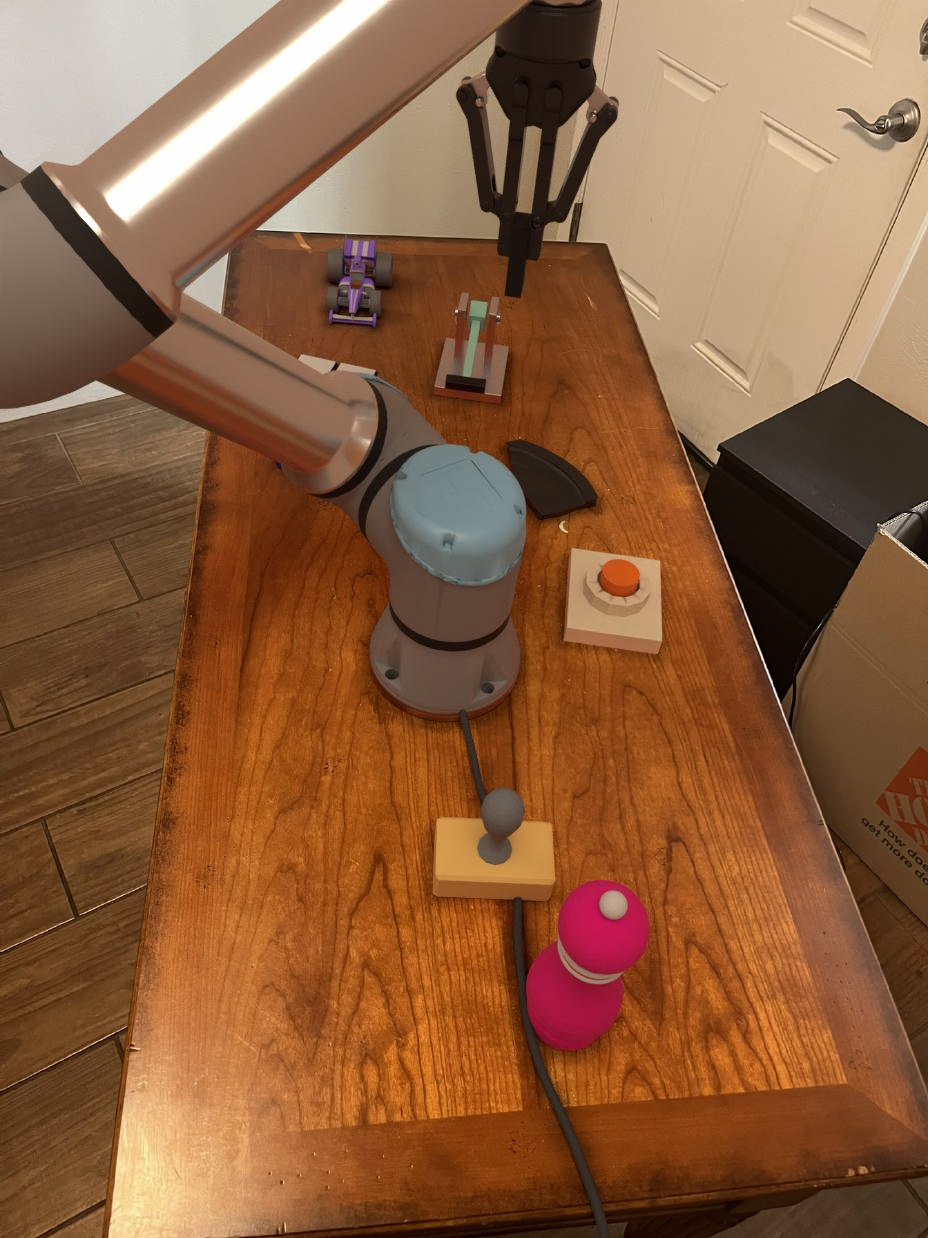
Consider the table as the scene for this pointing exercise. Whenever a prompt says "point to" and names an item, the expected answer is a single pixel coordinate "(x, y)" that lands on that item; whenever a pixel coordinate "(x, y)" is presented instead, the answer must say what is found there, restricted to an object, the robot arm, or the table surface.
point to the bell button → (619, 578)
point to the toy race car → (357, 280)
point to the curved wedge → (549, 480)
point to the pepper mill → (586, 965)
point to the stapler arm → (471, 352)
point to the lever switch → (486, 361)
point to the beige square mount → (612, 605)
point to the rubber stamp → (494, 853)
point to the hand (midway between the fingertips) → (514, 289)
